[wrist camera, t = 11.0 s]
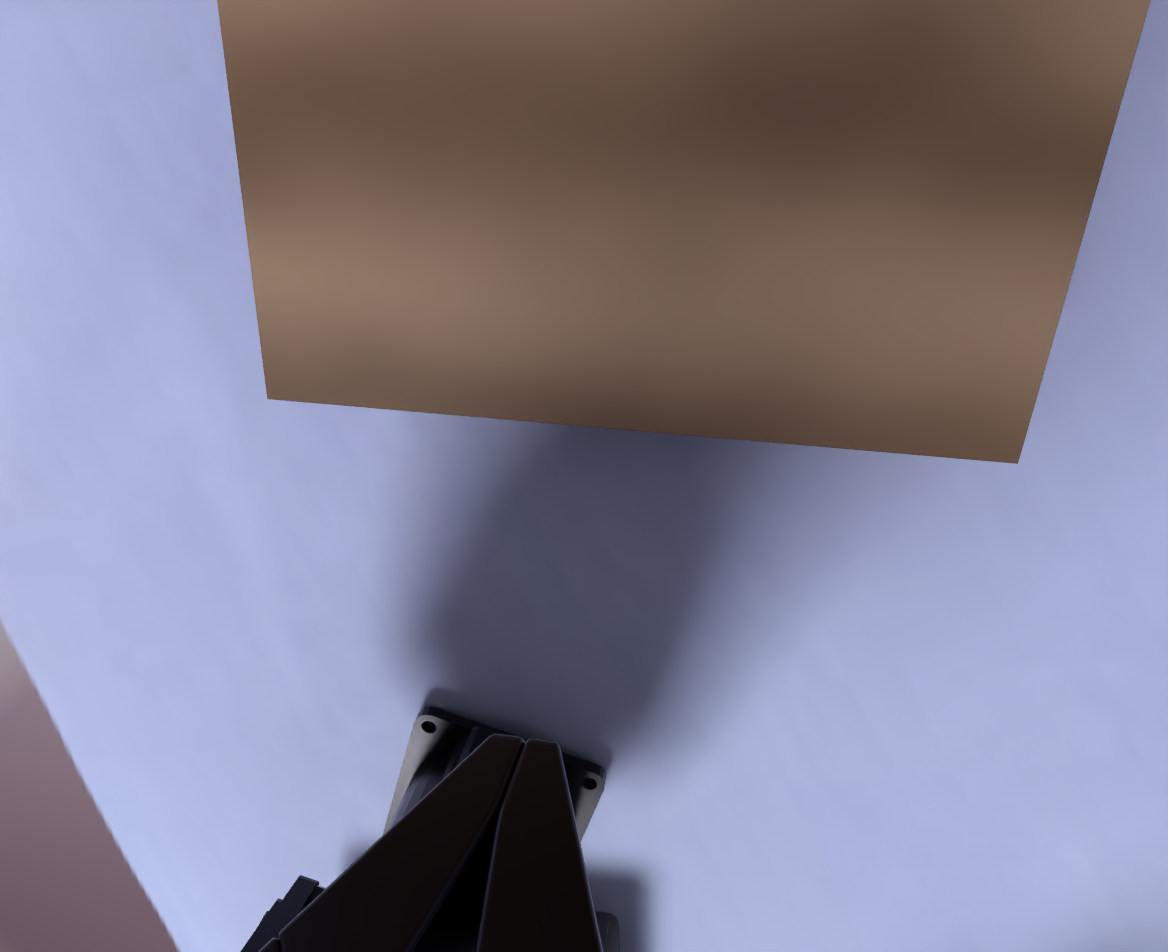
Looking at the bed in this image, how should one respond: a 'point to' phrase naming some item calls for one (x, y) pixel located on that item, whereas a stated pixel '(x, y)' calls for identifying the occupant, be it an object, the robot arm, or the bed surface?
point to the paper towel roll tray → (675, 208)
